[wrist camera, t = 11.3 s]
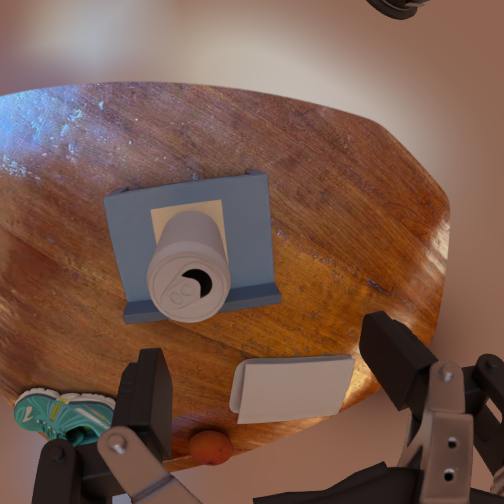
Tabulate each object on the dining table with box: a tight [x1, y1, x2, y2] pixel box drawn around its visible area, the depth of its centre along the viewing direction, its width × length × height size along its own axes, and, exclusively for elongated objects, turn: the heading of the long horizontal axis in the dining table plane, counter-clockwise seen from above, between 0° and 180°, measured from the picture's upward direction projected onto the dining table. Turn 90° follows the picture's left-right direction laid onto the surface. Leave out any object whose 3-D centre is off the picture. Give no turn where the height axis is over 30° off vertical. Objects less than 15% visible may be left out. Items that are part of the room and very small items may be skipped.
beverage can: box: [147, 211, 231, 323], centre depth 26 cm, size 6×6×12 cm
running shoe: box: [14, 388, 116, 446], centre depth 39 cm, size 11×29×11 cm, turn 99°
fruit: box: [189, 430, 233, 466], centre depth 49 cm, size 9×9×8 cm
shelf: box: [103, 170, 281, 324], centre depth 33 cm, size 14×18×9 cm
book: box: [229, 355, 356, 424], centre depth 49 cm, size 15×23×4 cm, turn 81°
